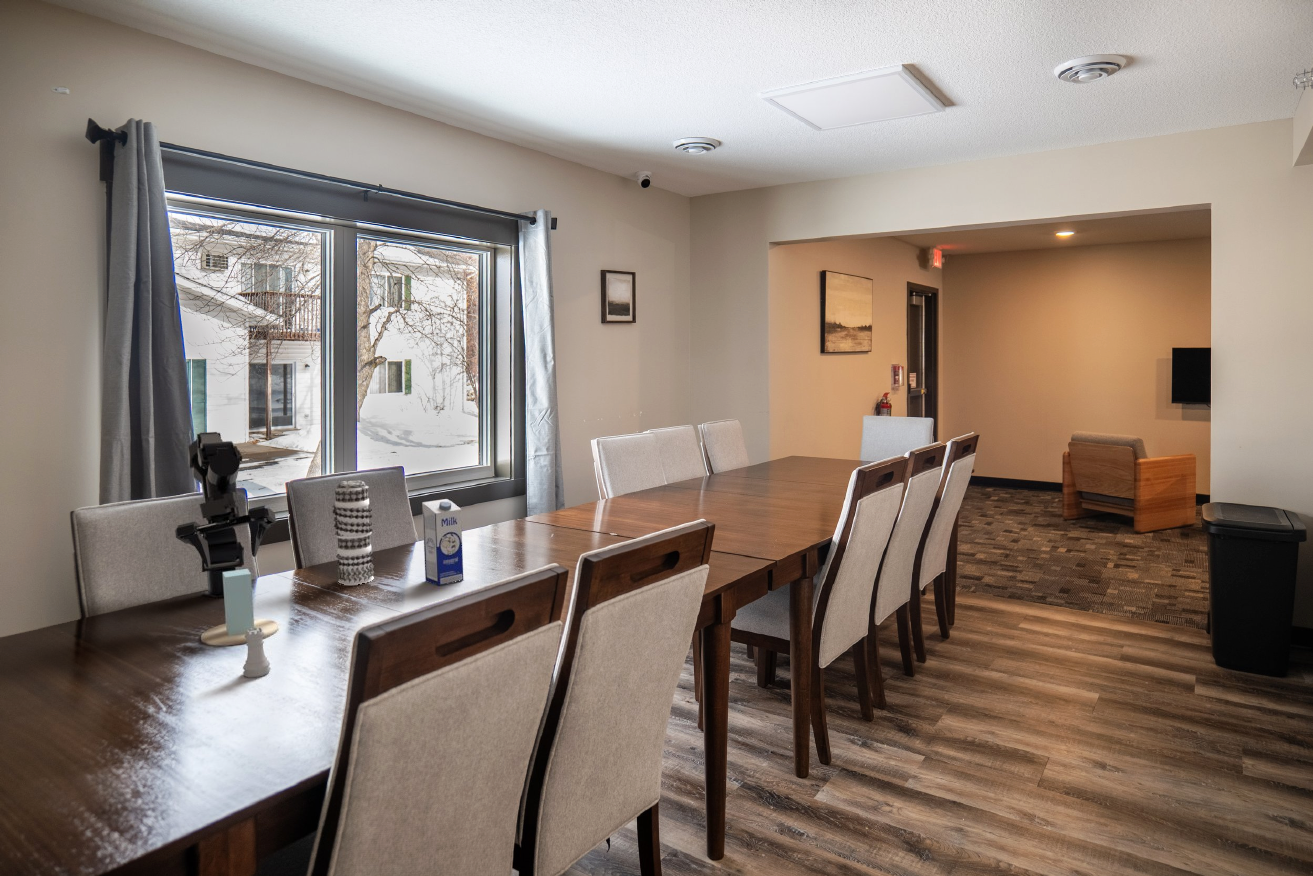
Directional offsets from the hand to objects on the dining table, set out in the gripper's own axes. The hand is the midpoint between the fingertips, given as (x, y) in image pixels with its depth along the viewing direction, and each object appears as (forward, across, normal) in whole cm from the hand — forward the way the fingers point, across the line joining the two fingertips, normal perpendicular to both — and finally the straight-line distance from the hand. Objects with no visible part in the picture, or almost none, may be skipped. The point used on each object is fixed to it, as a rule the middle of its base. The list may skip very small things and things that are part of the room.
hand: (231, 561), depth 173 cm
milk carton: (+10, +40, +25) cm, 49 cm away
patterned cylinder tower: (+3, +19, +29) cm, 35 cm away
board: (+16, +1, -4) cm, 17 cm away
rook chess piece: (+29, +9, -24) cm, 39 cm away
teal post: (+16, +1, -4) cm, 17 cm away
